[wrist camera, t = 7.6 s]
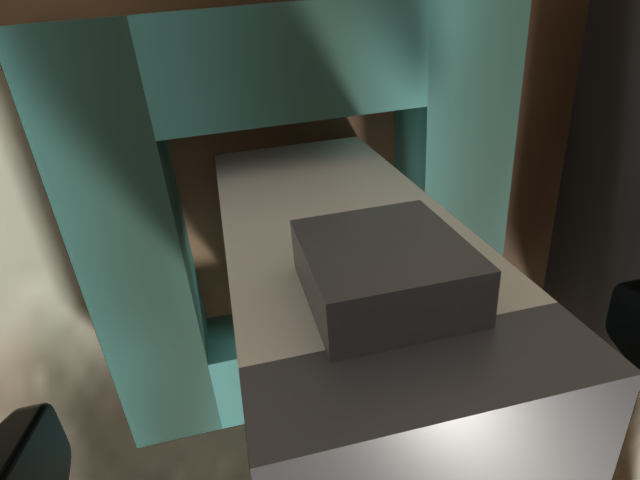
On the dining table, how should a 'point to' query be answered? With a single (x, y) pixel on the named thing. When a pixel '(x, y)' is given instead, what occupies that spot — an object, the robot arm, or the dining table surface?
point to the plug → (400, 334)
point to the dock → (312, 126)
